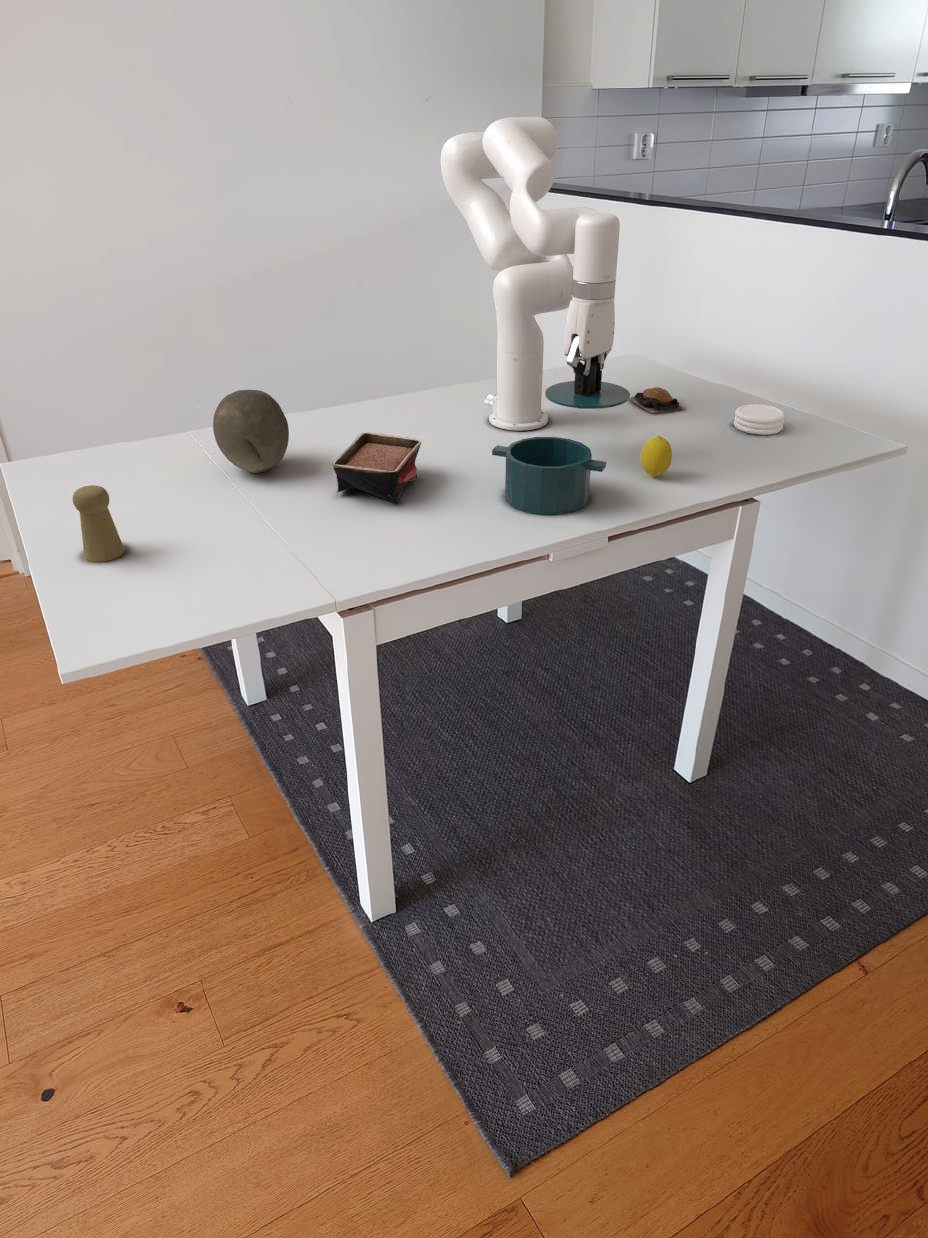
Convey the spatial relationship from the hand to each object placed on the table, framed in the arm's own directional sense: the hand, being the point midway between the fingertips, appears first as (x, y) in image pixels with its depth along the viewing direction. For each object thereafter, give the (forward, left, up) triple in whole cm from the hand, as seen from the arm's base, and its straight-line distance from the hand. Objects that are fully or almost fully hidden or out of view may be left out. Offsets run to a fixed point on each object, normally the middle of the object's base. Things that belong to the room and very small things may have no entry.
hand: (587, 391), depth 166 cm
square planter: (-20, -36, -13) cm, 43 cm away
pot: (+6, -20, -13) cm, 24 cm away
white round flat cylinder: (+19, +37, -13) cm, 44 cm away
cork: (-35, -82, -13) cm, 90 cm away
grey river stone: (-44, -45, -13) cm, 64 cm away
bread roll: (-5, +36, -13) cm, 39 cm away
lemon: (+16, 0, -13) cm, 21 cm away
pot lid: (0, 0, -1) cm, 1 cm away
